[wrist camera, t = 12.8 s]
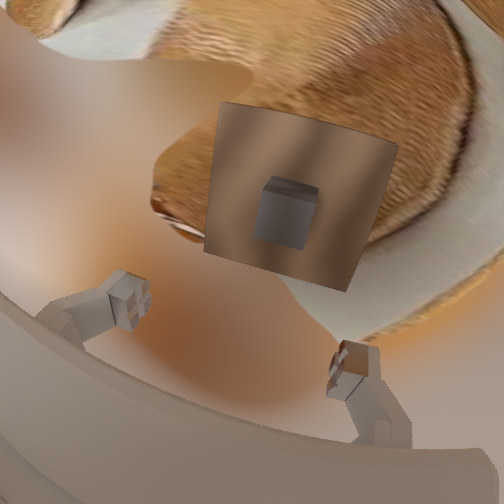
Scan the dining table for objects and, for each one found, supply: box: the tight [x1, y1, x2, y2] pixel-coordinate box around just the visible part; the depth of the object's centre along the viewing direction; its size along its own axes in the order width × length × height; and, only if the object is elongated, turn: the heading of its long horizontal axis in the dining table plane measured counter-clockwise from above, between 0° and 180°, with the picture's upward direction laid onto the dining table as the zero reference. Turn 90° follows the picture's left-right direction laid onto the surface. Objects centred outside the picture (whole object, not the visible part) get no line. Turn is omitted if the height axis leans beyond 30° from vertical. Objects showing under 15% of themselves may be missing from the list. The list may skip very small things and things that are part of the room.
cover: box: [204, 102, 399, 292], centre depth 24 cm, size 15×15×5 cm
